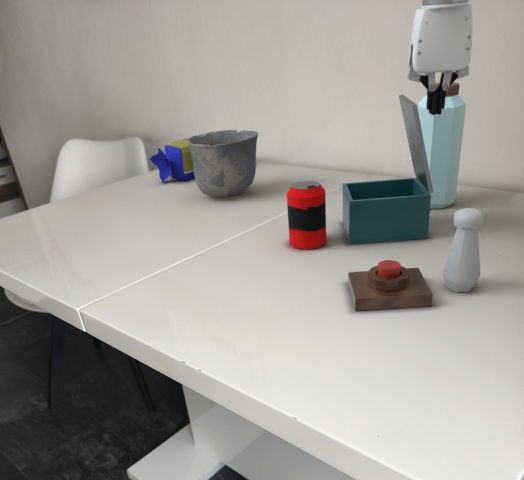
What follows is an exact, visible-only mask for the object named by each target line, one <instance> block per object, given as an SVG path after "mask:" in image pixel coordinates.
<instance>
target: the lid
mask: <svg viewBox="0 0 524 480" xmlns="http://www.w3.org/2000/svg"><path fill="white" fill-rule="evenodd" d="M398 100H399V104H400V109H401V113H402V119H403V123H404V128H405V134H406V138H407V143H408V148H409V153H410V158H411V163H412V168H413V174H414V173H415V176H416V177H417V179H418V180H419V181H420V182H421V184H422V185H423V186H424V187H425V189H426V190H427V191H428V192H429V193H433V187H432V182H431V177H430V171H429V166H428V161H427V155H426V150H425V145H424V140H423V134H422V129H421V124H420V118H419V113H418V104H417V103H415V102H414V101H412V99H410V98H409V97H407V96H406V95H405V94H399V95H398Z"/></svg>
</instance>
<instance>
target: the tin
mask: <svg viewBox="0 0 524 480" xmlns="http://www.w3.org/2000/svg"><path fill="white" fill-rule="evenodd" d="M430 203H431V195H430V193H429V192H428V191H427V190H426V189H425V187H424V186H423V185H422V184H421V182H420V181H419V180H418V179H417V178H413V177H406V178H405V177H404V178H393V179H381V180H367V181H355V182H342V225H343V228H344V232H345V235H346V238H347V239H346V240H347V241H348V244H349V245H360V244H361V245H362V244H375V243H387V242H390V243H391V242H402V241H416V240H427V239H428V236H429V224H430V213H431V209H430Z"/></svg>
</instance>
